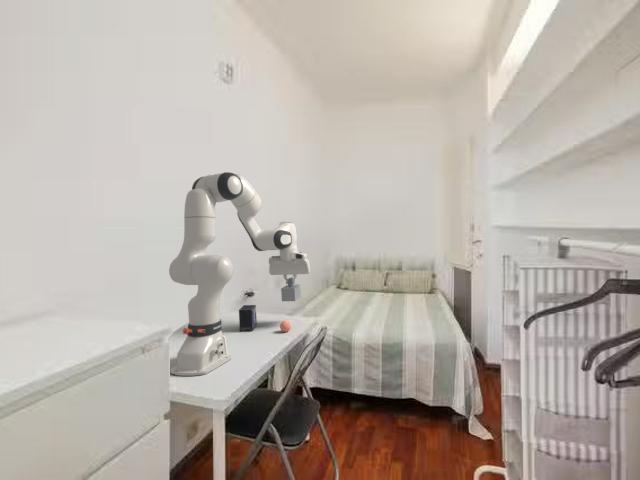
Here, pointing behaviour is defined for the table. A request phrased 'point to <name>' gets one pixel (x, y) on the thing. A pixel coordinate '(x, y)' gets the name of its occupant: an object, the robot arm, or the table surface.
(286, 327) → the ball
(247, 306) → the small box
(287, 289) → the gray hook block
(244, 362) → the table surface
